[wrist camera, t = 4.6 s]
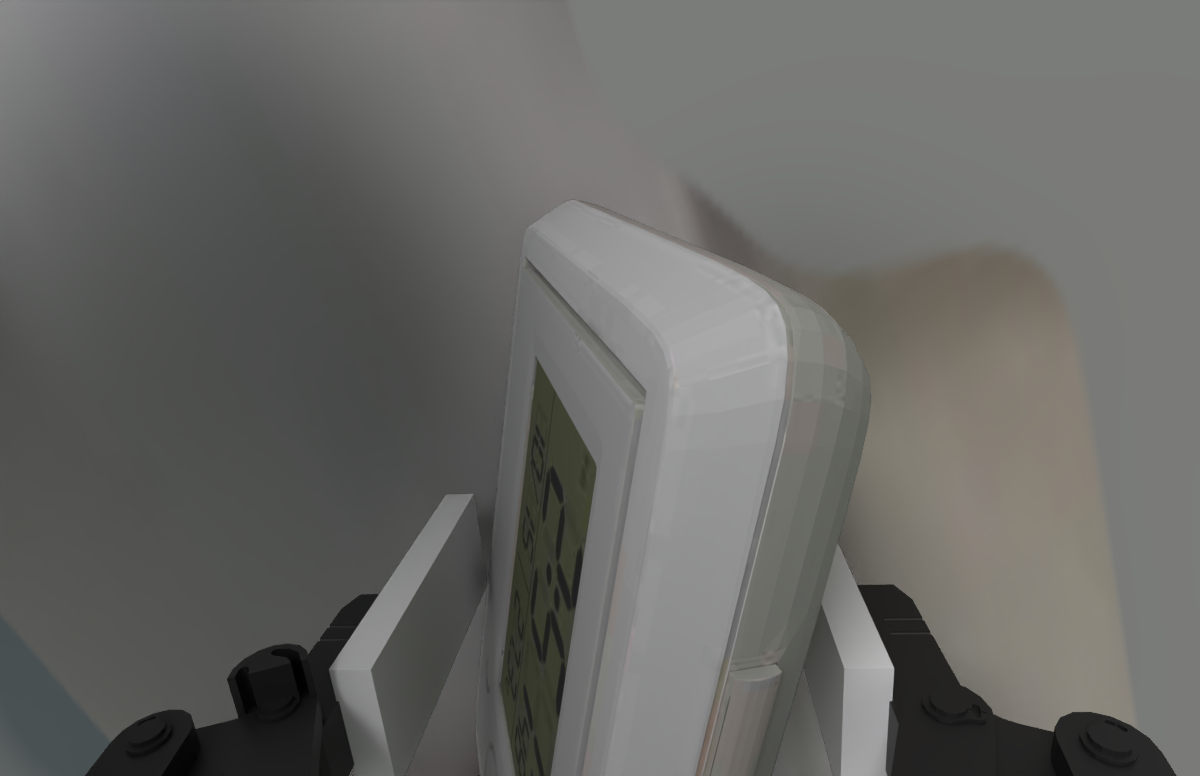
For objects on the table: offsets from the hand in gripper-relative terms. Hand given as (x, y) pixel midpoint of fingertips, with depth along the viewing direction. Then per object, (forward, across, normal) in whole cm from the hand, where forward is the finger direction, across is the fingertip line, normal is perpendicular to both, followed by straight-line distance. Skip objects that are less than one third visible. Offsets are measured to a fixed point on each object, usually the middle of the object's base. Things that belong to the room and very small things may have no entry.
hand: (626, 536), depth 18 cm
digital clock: (+2, -1, 0) cm, 2 cm away
